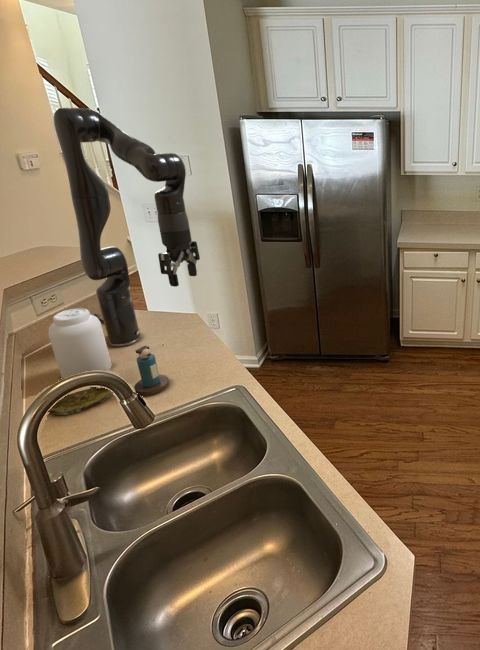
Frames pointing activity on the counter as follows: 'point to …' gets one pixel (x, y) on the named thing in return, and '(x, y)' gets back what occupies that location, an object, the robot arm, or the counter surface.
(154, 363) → the teal pump bottle
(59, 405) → the mottled olive oval disc
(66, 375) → the white plastic jar
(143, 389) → the stand
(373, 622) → the counter surface
